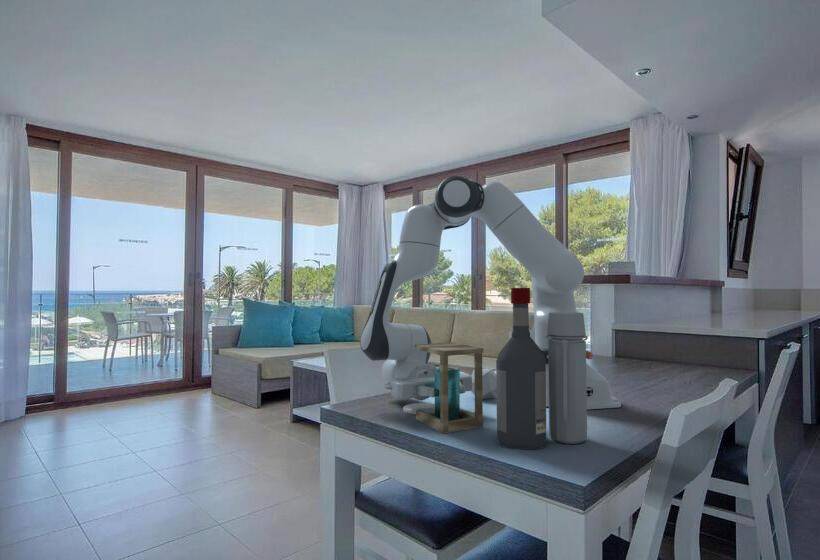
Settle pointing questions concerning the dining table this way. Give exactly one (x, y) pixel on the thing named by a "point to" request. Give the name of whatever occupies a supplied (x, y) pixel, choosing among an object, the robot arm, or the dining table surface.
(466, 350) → the rack
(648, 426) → the dining table surface
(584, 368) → the water bottle
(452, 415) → the can
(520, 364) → the liquor
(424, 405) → the coaster
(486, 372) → the die
